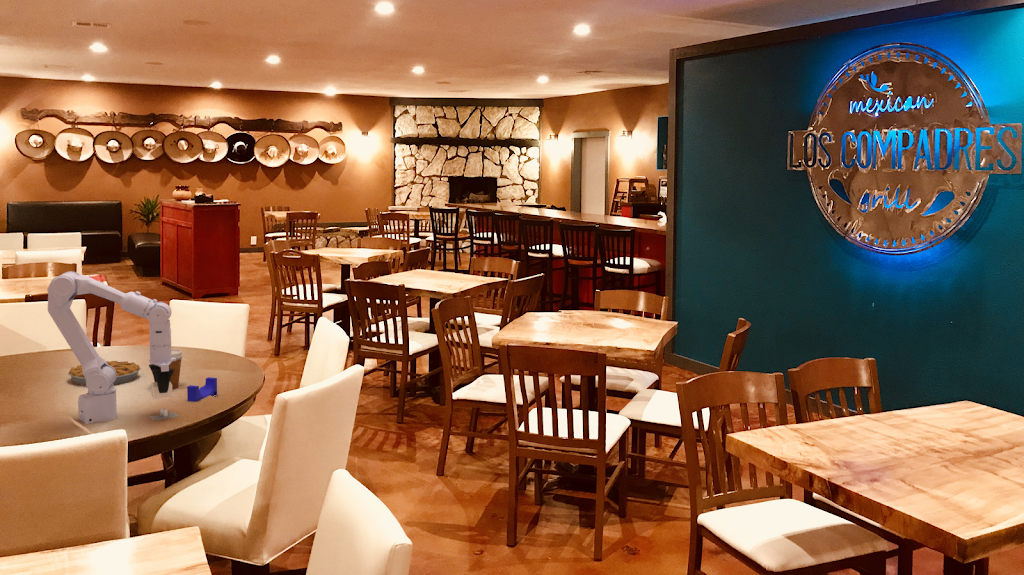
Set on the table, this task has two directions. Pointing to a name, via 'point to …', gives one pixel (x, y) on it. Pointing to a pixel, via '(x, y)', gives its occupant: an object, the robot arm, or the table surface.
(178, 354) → the disposable coffee cup
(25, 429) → the table surface
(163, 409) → the shaft
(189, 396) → the blue u-shaped cradle
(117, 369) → the pie
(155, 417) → the base plate
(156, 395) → the small white box
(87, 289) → the robot arm
